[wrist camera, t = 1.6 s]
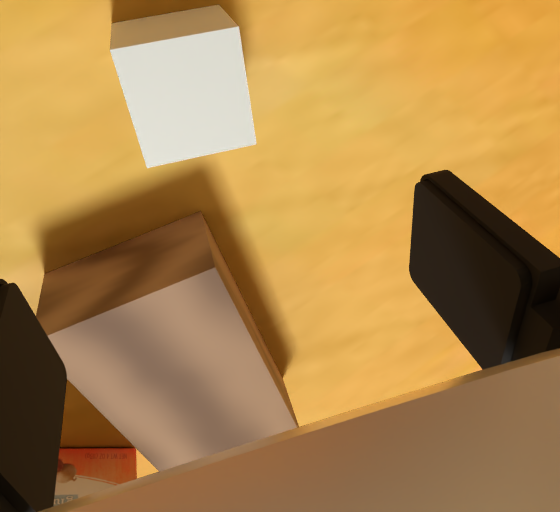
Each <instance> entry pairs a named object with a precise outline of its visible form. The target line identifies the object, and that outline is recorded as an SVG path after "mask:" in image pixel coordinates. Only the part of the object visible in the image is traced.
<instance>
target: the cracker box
mask: <svg viewBox="0 0 560 512" xmlns="http://www.w3.org/2000/svg"><path fill="white" fill-rule="evenodd" d="M135 479H137V472H136V449H135V448H82V449H69V448H60V449H59V458H58V468H57V477H56V487H55V496H54V506H57V505H60V504H63V503H65V502H68V501H71V500H74V499H77V498H80V497H83V496H86V495H89V494H92V493H95V492H98V491H101V490H104V489H107V488H110V487H113V486H116V485H119V484H122V483H125V482H128V481H132V480H135ZM54 506H53V507H54Z"/></svg>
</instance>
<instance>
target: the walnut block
mask: <svg viewBox="0 0 560 512" xmlns="http://www.w3.org/2000/svg"><path fill="white" fill-rule="evenodd" d="M36 318H37V319H38V321H39V323H40V324H41V326H42V328H43V329H44V331H45V333H46V334H47V336H48V338H49V339H50V341H51V343H52V344H53V346H54V348H55V349H56V351H57V353H58V354H59V356H60V358H61V359H62V361H63V363H64V365H65V368H66V372H67V379H68V380H69V381H70V382H71V383H72V384H73V385H74V386H75V387H76V388H77V389H78V390H79V391H80V392H81V393H82V394H83V395H84V396H85V397H86V398H87V399H88V400H89V401H90V402H91V403H92V404H93V405H94V406H95V407H96V408H97V409H98V410H99V411H100V412H101V414H102V415H103V416H104V417H105V418H106V419H107V420H108V421H109V422H110V423H111V424H112V425H113V426H114V427H115V428H116V429H117V430H118V431H119V432H120V433H121V434H122V435H123V436H124V437H125V438H126V439H127V440H128V441H129V442H130V443H131V444H132V445H133V446H134V447H135V448H136V449H137V450H138V451H139V452H140V453H141V454H142V455H143V456H144V457H145V458H146V459H147V460H148V461H149V462H150V463H151V464H152V465H153V466H154V467H155V468H156V469H157V470H158V471H159V472H160V471H163V470H166V469H169V468H172V467H175V466H178V465H181V464H185V463H188V462H191V461H194V460H197V459H200V458H203V457H206V456H209V455H213V454H216V453H219V452H222V451H225V450H228V449H231V448H234V447H237V446H241V445H244V444H247V443H250V442H253V441H256V440H260V439H263V438H266V437H269V436H272V435H275V434H279V433H282V432H285V431H288V430H291V429H294V428H297V427H299V426H298V423H297V420H296V417H295V414H294V411H293V408H292V405H291V402H290V399H289V396H288V393H287V390H286V387H285V384H284V381H283V378H282V376H281V374H280V372H279V370H278V368H277V366H276V364H275V362H274V360H273V358H272V356H271V354H270V352H269V350H268V348H267V346H266V344H265V342H264V340H263V337H262V335H261V333H260V331H259V329H258V327H257V325H256V323H255V321H254V319H253V317H252V315H251V313H250V311H249V309H248V307H247V305H246V303H245V301H244V299H243V297H242V294H241V292H240V290H239V288H238V286H237V284H236V282H235V280H234V278H233V276H232V274H231V272H230V270H229V268H228V266H227V264H226V262H225V260H224V258H223V256H222V254H221V251H220V249H219V247H218V245H217V243H216V241H215V239H214V237H213V235H212V233H211V231H210V229H209V227H208V225H207V223H206V221H205V219H204V217H203V215H202V213H201V211H199V212H197V213H195V214H192V215H190V216H187V217H185V218H182V219H180V220H177V221H175V222H172V223H170V224H167V225H165V226H162V227H160V228H157V229H155V230H152V231H150V232H147V233H145V234H142V235H140V236H137V237H135V238H133V239H130V240H128V241H125V242H123V243H120V244H118V245H115V246H113V247H110V248H108V249H105V250H103V251H100V252H98V253H95V254H93V255H90V256H88V257H85V258H83V259H80V260H78V261H75V262H73V263H71V264H68V265H66V266H63V267H61V268H58V269H56V270H53V271H51V272H48V273H46V274H44V279H43V284H42V289H41V294H40V299H39V304H38V309H37V314H36Z"/></svg>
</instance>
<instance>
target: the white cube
mask: <svg viewBox="0 0 560 512" xmlns="http://www.w3.org/2000/svg"><path fill="white" fill-rule="evenodd" d="M110 52H111V55H112V58H113V61H114V64H115V68H116V71H117V74H118V77H119V80H120V84H121V87H122V90H123V93H124V96H125V99H126V103H127V106H128V109H129V112H130V115H131V119H132V122H133V125H134V128H135V131H136V134H137V138H138V141H139V144H140V147H141V150H142V154H143V157H144V160H145V163H146V166H147V168H150V167H154V166H159V165H163V164H168V163H173V162H177V161H182V160H186V159H191V158H196V157H200V156H205V155H209V154H214V153H218V152H223V151H228V150H232V149H237V148H241V147H246V146H251V145H255V144H256V138H255V131H254V124H253V118H252V111H251V104H250V98H249V91H248V84H247V78H246V71H245V64H244V58H243V51H242V44H241V38H240V31H239V26H238V25H237V24H236V23H235V22H234V21H233V19H232V18H231V17H230V16H229V15H228V14H227V13H226V12H225V11H224V10H223V9H222V7H221V6H220V5H213V6H207V7H202V8H196V9H190V10H185V11H179V12H173V13H167V14H162V15H156V16H150V17H144V18H139V19H133V20H127V21H122V22H116V23H112V27H111V41H110Z"/></svg>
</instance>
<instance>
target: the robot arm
mask: <svg viewBox="0 0 560 512" xmlns="http://www.w3.org/2000/svg"><path fill="white" fill-rule="evenodd" d="M409 271H410V275H411V278H412V280H413V282H414V283H415V284H416V286H417V287H418V288H419V289H420V291H421V292H422V293H423V295H424V296H425V297H426V298H427V300H428V301H429V302H430V303H431V305H432V306H433V307H434V308H435V310H436V311H437V312H438V313H439V315H440V316H441V317H442V319H443V320H444V321H445V322H446V324H447V325H448V326H449V327H450V329H451V330H452V331H453V332H454V334H455V335H456V336H457V337H458V339H459V340H460V341H461V343H462V344H463V345H464V346H465V348H466V349H467V350H468V351H469V353H470V354H471V355H472V356H473V358H474V359H475V360H476V361H477V363H478V364H479V365H480V367H481V368H482V369H483V370H480V371H477V372H474V373H471V374H467V375H464V376H461V377H458V378H454V379H451V380H448V381H445V382H442V383H438V384H435V385H432V386H429V387H425V388H422V389H419V390H416V391H412V392H409V393H406V394H403V395H400V396H396V397H393V398H390V399H387V400H383V401H380V402H377V403H374V404H371V405H367V406H364V407H361V408H358V409H355V410H351V411H348V412H345V413H342V414H339V415H336V416H332V417H329V418H326V419H323V420H320V421H317V422H313V423H310V424H307V425H304V426H301V427H297V428H294V429H291V430H288V431H285V432H282V433H279V434H275V435H272V436H269V437H266V438H263V439H260V440H256V441H253V442H250V443H247V444H244V445H241V446H237V447H234V448H231V449H228V450H225V451H222V452H219V453H216V454H213V455H209V456H206V457H203V458H200V459H197V460H194V461H191V462H188V463H185V464H181V465H178V466H175V467H172V468H169V469H166V470H163V471H160V472H156V473H153V474H150V475H147V476H144V477H141V478H138V479H135V480H132V481H128V482H125V483H122V484H119V485H116V486H113V487H110V488H107V489H104V490H101V491H98V492H95V493H92V494H89V495H86V496H83V497H80V498H77V499H74V500H71V501H68V502H65V503H63V504H60V505H57V506H54V496H55V487H56V477H57V468H58V458H59V449H60V440H61V430H62V421H63V411H64V402H65V393H66V383H67V372H66V368H65V365H64V363H63V361H62V359H61V358H60V356H59V354H58V353H57V351H56V349H55V348H54V346H53V344H52V343H51V341H50V339H49V338H48V336H47V334H46V333H45V331H44V329H43V328H42V326H41V324H40V323H39V321H38V319H37V318H36V316H35V314H34V313H33V311H32V309H31V308H30V306H29V304H28V302H27V301H26V299H25V297H24V296H23V294H22V292H21V291H20V289H19V288H18V286H17V285H16V284H15V283H9V284H8V283H7V282H6V281H5V280H3V279H0V512H560V258H559V257H558V256H556V255H555V254H554V253H553V252H551V251H550V250H549V249H547V248H546V247H545V246H544V245H542V244H541V243H540V242H539V241H537V240H536V239H535V238H534V237H532V236H531V235H530V234H529V233H527V232H526V231H525V230H523V229H522V228H521V227H520V226H518V225H517V224H516V223H515V222H513V221H512V220H511V219H510V218H508V217H507V216H506V215H505V214H503V213H502V212H501V211H499V210H498V209H497V208H496V207H494V206H493V205H492V204H491V203H489V202H488V201H487V200H486V199H484V198H483V197H482V196H481V195H479V194H478V193H477V192H475V191H474V190H473V189H472V188H470V187H469V186H468V185H467V184H465V183H464V182H463V181H462V180H460V179H459V178H458V177H457V176H455V175H454V174H453V173H452V172H450V171H448V170H442V171H438V172H434V173H430V174H426V175H424V176H422V178H421V181H420V182H418V183H417V184H416V185H415V191H414V205H413V220H412V234H411V249H410V263H409ZM53 506H54V507H53Z"/></svg>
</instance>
